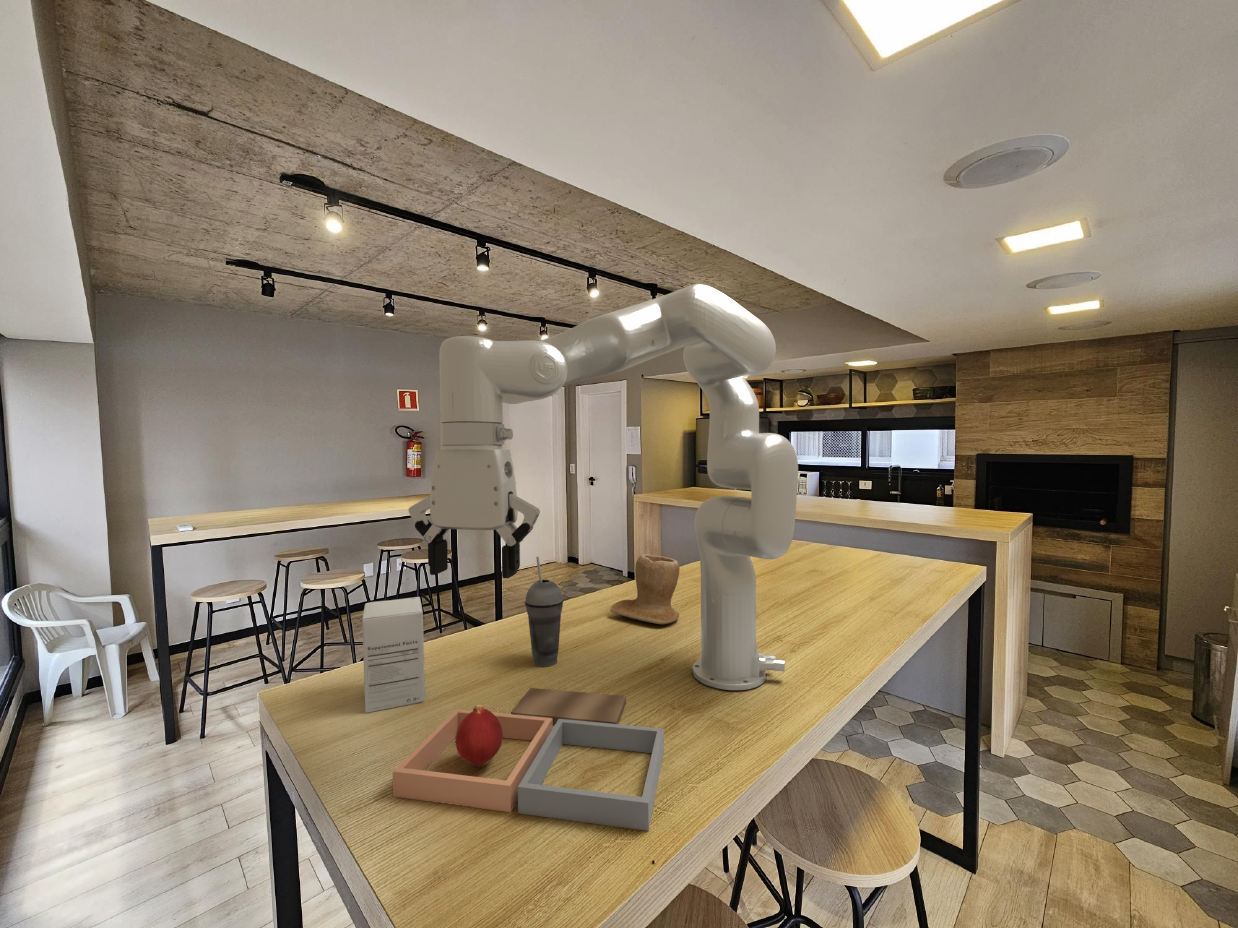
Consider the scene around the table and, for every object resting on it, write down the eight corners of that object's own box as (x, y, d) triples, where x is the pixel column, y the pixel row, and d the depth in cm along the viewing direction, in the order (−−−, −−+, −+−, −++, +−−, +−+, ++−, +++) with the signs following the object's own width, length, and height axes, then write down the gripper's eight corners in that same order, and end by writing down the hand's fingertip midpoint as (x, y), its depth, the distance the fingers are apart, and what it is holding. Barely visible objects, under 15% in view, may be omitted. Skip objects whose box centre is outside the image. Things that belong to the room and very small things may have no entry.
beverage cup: (557, 671, 94) (555, 561, 93) (519, 668, 95) (517, 560, 95) (569, 655, 101) (567, 553, 100) (534, 652, 102) (532, 552, 102)
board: (626, 703, 82) (626, 695, 82) (615, 730, 74) (615, 722, 74) (530, 694, 85) (530, 687, 85) (510, 720, 77) (510, 712, 77)
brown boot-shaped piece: (690, 617, 122) (689, 554, 122) (662, 632, 113) (661, 564, 112) (638, 606, 132) (638, 547, 131) (608, 618, 122) (607, 555, 122)
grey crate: (664, 750, 69) (663, 728, 69) (648, 830, 55) (648, 802, 54) (559, 739, 72) (558, 718, 72) (518, 813, 57) (517, 786, 57)
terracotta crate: (552, 739, 72) (552, 717, 72) (510, 812, 58) (510, 785, 57) (456, 729, 75) (455, 708, 75) (393, 796, 60) (392, 771, 60)
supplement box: (366, 689, 88) (364, 601, 87) (423, 679, 91) (420, 595, 91) (363, 714, 79) (360, 618, 79) (425, 702, 83) (423, 610, 82)
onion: (462, 753, 69) (460, 694, 69) (505, 750, 69) (504, 692, 69) (451, 781, 63) (450, 717, 63) (499, 778, 64) (498, 714, 63)
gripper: (547, 438, 67) (549, 570, 67) (426, 439, 70) (428, 565, 71) (526, 437, 59) (527, 585, 60) (391, 438, 63) (394, 578, 63)
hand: (473, 574), depth 65 cm, fingers open, 9 cm apart
